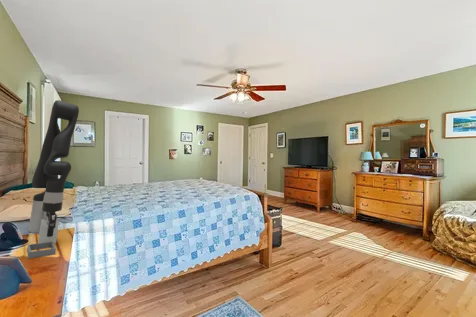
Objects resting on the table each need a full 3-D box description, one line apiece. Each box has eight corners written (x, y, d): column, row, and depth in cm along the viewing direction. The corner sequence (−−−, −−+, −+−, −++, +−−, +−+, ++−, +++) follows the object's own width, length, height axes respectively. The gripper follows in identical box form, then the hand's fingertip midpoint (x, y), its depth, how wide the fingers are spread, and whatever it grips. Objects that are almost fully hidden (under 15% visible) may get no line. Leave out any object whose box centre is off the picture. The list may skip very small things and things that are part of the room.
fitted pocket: (26, 250, 101) (27, 244, 101) (52, 246, 107) (52, 241, 107) (28, 258, 94) (29, 252, 94) (55, 254, 100) (55, 248, 100)
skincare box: (56, 243, 112) (59, 219, 113) (48, 245, 108) (52, 220, 109) (45, 241, 113) (48, 217, 113) (37, 244, 109) (40, 219, 109)
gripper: (41, 198, 114) (37, 231, 113) (45, 203, 104) (40, 239, 103) (60, 198, 119) (56, 229, 118) (65, 203, 109) (60, 237, 108)
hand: (48, 234), depth 111 cm, fingers open, 8 cm apart
